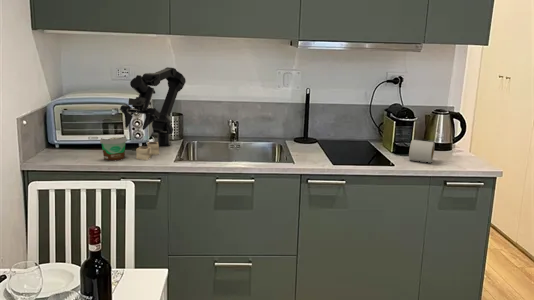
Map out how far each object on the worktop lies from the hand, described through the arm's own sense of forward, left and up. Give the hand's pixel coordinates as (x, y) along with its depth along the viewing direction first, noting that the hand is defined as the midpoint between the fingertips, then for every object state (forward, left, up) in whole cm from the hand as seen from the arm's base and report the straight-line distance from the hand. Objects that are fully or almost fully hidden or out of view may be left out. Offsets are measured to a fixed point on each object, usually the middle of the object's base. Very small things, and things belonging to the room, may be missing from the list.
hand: (134, 128), depth 240 cm
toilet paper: (+5, +135, -13) cm, 136 cm away
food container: (+6, -8, -13) cm, 16 cm away
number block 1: (+4, +4, -13) cm, 15 cm away
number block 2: (-5, +7, -13) cm, 16 cm away
